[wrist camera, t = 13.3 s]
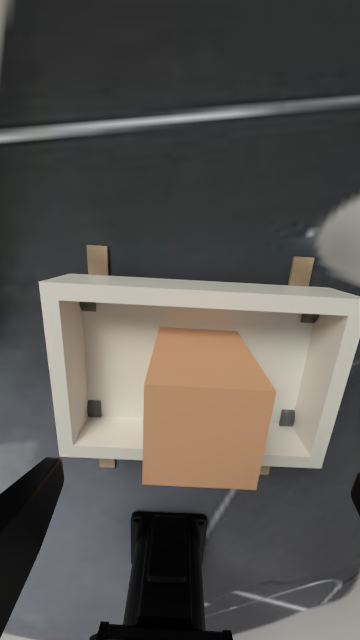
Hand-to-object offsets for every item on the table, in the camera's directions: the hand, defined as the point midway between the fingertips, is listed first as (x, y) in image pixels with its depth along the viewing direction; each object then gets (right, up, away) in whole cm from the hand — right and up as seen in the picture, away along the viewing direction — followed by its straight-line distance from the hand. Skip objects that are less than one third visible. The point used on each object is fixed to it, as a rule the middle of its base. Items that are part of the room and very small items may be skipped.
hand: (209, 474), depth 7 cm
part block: (0, +2, +7) cm, 8 cm away
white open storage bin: (0, +3, +9) cm, 10 cm away
